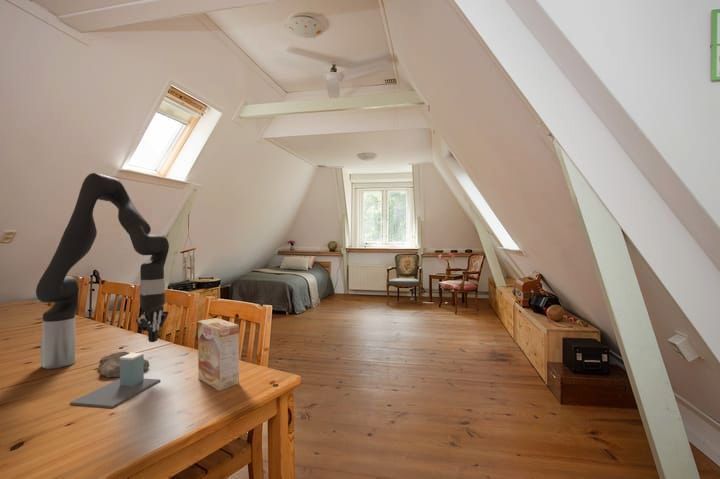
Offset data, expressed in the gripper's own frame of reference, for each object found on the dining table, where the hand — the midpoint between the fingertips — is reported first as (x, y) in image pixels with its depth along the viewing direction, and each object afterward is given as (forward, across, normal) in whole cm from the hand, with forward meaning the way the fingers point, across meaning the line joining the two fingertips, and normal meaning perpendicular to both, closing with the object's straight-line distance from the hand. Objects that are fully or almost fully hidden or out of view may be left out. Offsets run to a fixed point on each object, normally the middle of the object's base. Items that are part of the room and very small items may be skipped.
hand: (153, 341), depth 119 cm
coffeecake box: (+12, +2, +26) cm, 28 cm away
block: (+11, +9, 0) cm, 14 cm away
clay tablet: (+12, -4, -16) cm, 21 cm away
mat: (+11, +14, 0) cm, 18 cm away
